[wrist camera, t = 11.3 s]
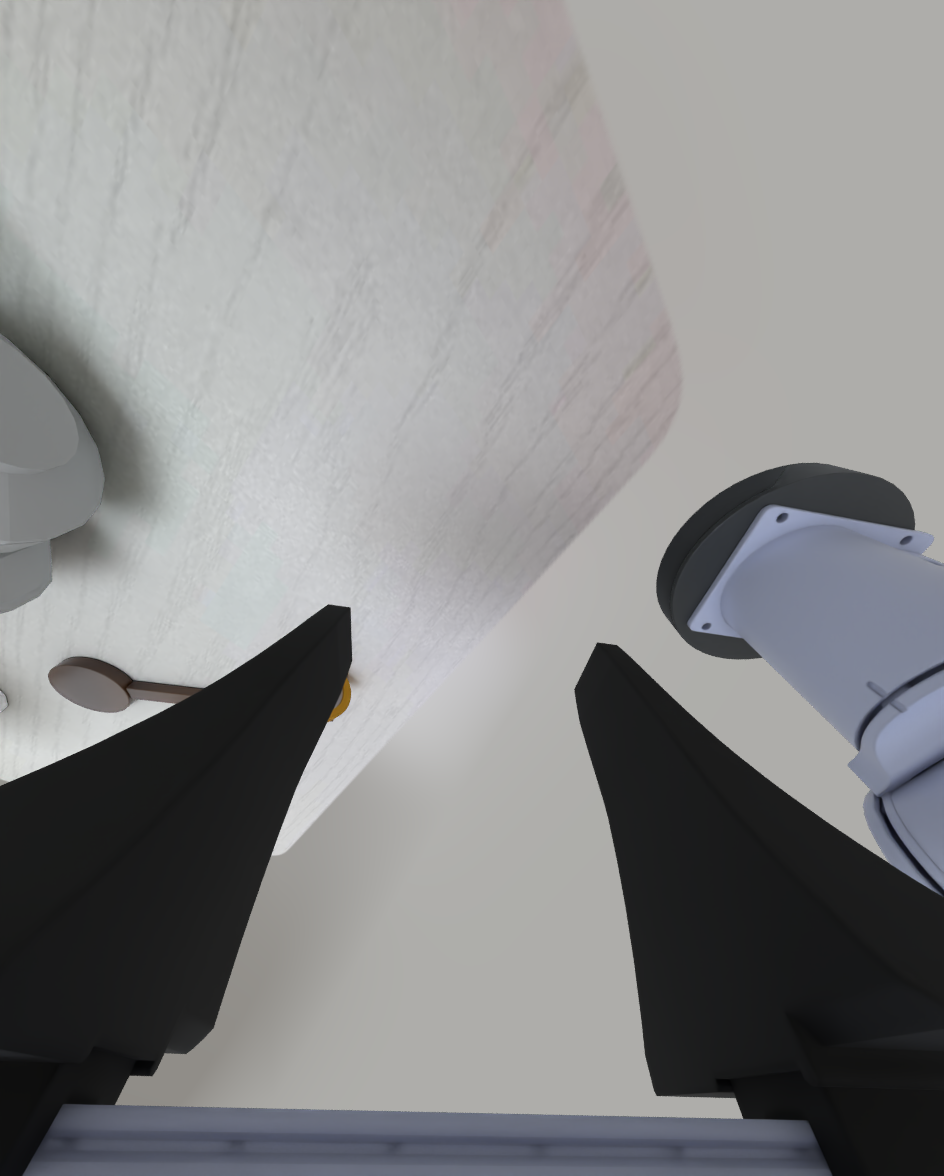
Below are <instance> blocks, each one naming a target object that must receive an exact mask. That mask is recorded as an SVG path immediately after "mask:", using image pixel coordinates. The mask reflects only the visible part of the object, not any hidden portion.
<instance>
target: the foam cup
mask: <svg viewBox="0 0 944 1176" xmlns="http://www.w3.org/2000/svg"><path fill="white" fill-rule="evenodd" d="M7 706H8V704H7V700H6V696H5V695H4V694H3V693H2V692H1V691H0V712H1V711H3V710H4V709H5V708H6V707H7Z"/></svg>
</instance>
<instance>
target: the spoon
mask: <svg viewBox="0 0 944 1176" xmlns="http://www.w3.org/2000/svg"><path fill="white" fill-rule="evenodd" d="M48 678H49V681H50V683H51V685H52V686H53V688H54V689H55V690H56V691H57V692H58V693H59V694H61V695H62V696H63V697H65V698H66V699H68V700H70V701H71V702H73V703H75V704H77V705H79V706H82V707H84V708H87V709H91V710H94V711H99V712H107V713H114V712H120V711H123V710H125V709H126V708H127V707H128V706H129V705H130V704H131V703H133V702H134V701H135V700H136V699H140V700H148V701H157V702H166V703H175V704H177V703H179V702H181V701H182V700H184V699H186V698H188V697H190V696H192V695H193V694H195V693H197V692H199V691H201V690H202V689H198V688H189V687H181V686H173V685H164V684H156V683H147V682H139V681H132V680H131V679H130V678H129V677H128V676H127V675H126V674H124V673H123V672H122V671H120V670H118V669H117V668H115V667H113V666H111V665H109V664H107V663H104V662H102V661H99V660H95V659H91V658H85V657H73V658H68V659H66V660H64V661H62V662H61V663H59V664H58V665H56V666H55V667H54V668H52V669H51V670H50V671H49V674H48ZM333 720H334V719H333ZM333 720H331V721H333Z"/></svg>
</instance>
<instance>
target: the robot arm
mask: <svg viewBox="0 0 944 1176" xmlns="http://www.w3.org/2000/svg"><path fill="white" fill-rule="evenodd" d="M780 514H782V515H781V517H780V518H779V519H777V517H778V516H779V515H780ZM776 519H777V520H776ZM933 541H934V537H933V535H931V534H928V533H925V532H921V531H916V530H910V529H905V528H899V527H894V526H889V525H883V524H878V523H872V522H867V521H862V520H856V519H851V518H845V517H840V516H834V515H829V514H824V513H818V512H813V511H807V510H802V509H796V508H791V507H786V506H780V505H775V504H771V505H768V506H765V507H764V508H762V509H761V510H760V512H759V513H758V514H757V516H756V518H755V519H754V521H753V522H752V524H751V525H750V527H749V528H748V530H747V531H746V533H745V534H744V536H743V537H742V539H741V540H740V542H739V544H738V545H737V547H736V548H735V550H734V551H733V553H732V554H731V556H730V557H729V559H728V560H727V562H726V563H725V565H724V567H723V568H722V570H721V571H720V573H719V574H718V576H717V577H716V579H715V580H714V582H713V583H712V585H711V586H710V588H709V589H708V591H707V593H706V594H705V596H704V597H703V599H702V600H701V602H700V603H699V605H698V606H697V608H696V609H695V611H694V612H693V614H692V616H691V617H690V619H689V620H688V622H687V625H688V627H689V628H690V629H691V630H692V631H697V632H704V633H710V634H717V635H724V636H731V637H737V638H743V639H744V640H745V641H746V642H747V643H748V644H749V645H750V646H751V647H752V648H753V649H754V650H755V651H756V652H757V653H759V654H760V655H761V656H762V657H763V658H764V659H765V660H766V661H767V662H768V663H769V664H770V665H771V666H772V667H773V668H774V669H775V670H776V671H777V672H778V673H779V674H780V675H781V676H782V677H783V678H784V679H785V680H786V681H787V682H788V683H789V684H790V685H791V686H792V687H793V688H794V689H795V690H796V691H798V693H800V694H801V696H802V697H804V698H805V699H806V700H807V701H808V702H809V703H810V704H811V705H812V706H813V707H814V708H815V709H816V710H817V711H818V712H819V713H820V714H821V715H822V716H823V717H824V718H825V719H826V720H827V721H828V722H829V723H830V724H831V725H832V726H833V727H834V728H835V729H836V730H837V731H838V732H839V733H840V734H841V735H842V736H843V737H844V738H845V739H847V740H848V741H849V742H850V743H851V744H852V745H853V746H854V747H855V748H856V749H857V750H858V751H859V753H858V754H857V756H856V757H855V758H854V759H853V760H852V761H850V762H849V763H848V767H849V768H850V769H851V770H852V771H853V772H854V773H855V774H856V775H857V776H858V777H859V778H860V779H861V780H862V781H863V782H864V783H865V784H866V785H867V787H868V788H870V791H869V793H868V794H867V795H866V796H865V799H864V803H863V808H864V815H865V818H866V821H867V824H868V826H869V829H870V831H871V833H872V835H873V837H874V839H875V840H876V842H877V844H878V846H879V847H880V849H881V851H882V853H883V854H884V856H885V858H886V859H887V861H888V862H889V863H888V862H886V861H885V860H883V859H882V858H880V857H879V856H877V855H876V854H874V853H873V852H871V851H869V850H868V849H866V848H865V847H863V846H862V845H860V844H858V843H857V842H856V841H854V840H852V839H851V838H850V837H848V836H847V835H845V834H844V833H842V832H841V831H839V830H838V829H836V828H835V827H833V826H832V825H830V824H829V823H828V822H826V821H825V820H823V819H822V818H820V817H819V816H818V815H816V814H815V813H814V812H812V811H811V810H809V809H808V808H806V807H805V806H804V805H802V804H801V803H799V802H798V801H797V800H795V799H794V798H792V797H791V796H790V795H788V794H787V793H786V792H784V791H783V790H782V789H780V788H779V787H778V786H776V785H775V784H773V783H772V782H771V781H770V780H768V779H767V778H765V777H764V776H763V775H762V774H761V773H759V772H758V771H757V770H755V769H754V768H753V767H752V766H750V765H749V764H748V763H747V762H745V761H744V760H743V759H742V758H740V757H739V756H738V755H737V754H735V753H734V752H733V751H732V750H730V749H729V748H728V747H727V746H726V745H725V744H723V743H722V742H721V741H720V740H719V739H717V738H716V737H715V736H714V735H713V734H712V733H711V732H709V731H708V730H707V729H706V728H705V727H704V726H703V725H702V724H700V723H699V722H698V721H697V720H696V719H695V718H694V717H693V716H692V715H690V714H689V713H688V712H687V711H686V710H685V709H684V708H683V707H682V706H681V705H679V703H678V702H676V701H675V700H674V699H673V698H672V697H671V696H670V695H669V694H668V693H667V692H666V691H665V690H664V689H663V688H662V687H661V686H660V685H659V684H658V683H656V681H654V679H652V678H651V677H650V676H649V675H648V674H647V673H646V672H645V671H644V670H643V669H642V668H641V667H640V666H639V665H638V664H637V663H636V662H635V661H634V660H633V659H632V658H631V657H630V656H629V655H628V654H626V653H625V652H624V651H623V650H622V649H621V648H620V647H618V646H617V645H611V644H605V643H597V644H596V646H595V649H594V650H593V652H592V654H591V656H590V658H589V661H588V663H587V665H586V667H585V669H584V671H583V673H582V675H581V677H580V679H579V681H578V684H577V685H576V687H575V689H574V690H575V697H576V703H577V709H578V715H579V720H580V724H581V728H582V731H583V734H584V738H585V741H586V745H587V748H588V752H589V755H590V758H591V761H592V765H593V768H594V771H595V774H596V777H597V781H598V784H599V787H600V791H601V794H602V797H603V800H604V804H605V808H606V812H607V816H608V819H609V824H610V829H611V833H612V838H613V843H614V847H615V852H616V858H617V863H618V868H619V874H620V879H621V884H622V890H623V895H624V901H625V906H626V912H627V919H628V925H629V932H630V939H631V945H632V951H633V958H634V965H635V973H636V981H637V988H638V995H639V996H638V997H639V1004H640V1012H641V1020H642V1029H643V1039H644V1048H645V1056H646V1060H647V1064H648V1068H649V1072H650V1076H651V1080H652V1084H653V1088H654V1091H655V1093H656V1095H657V1096H680V1097H715V1098H736V1100H737V1102H738V1105H739V1108H740V1111H741V1113H742V1116H743V1119H720V1118H718V1119H717V1118H675V1117H629V1116H628V1117H627V1116H583V1115H580V1116H579V1115H538V1114H537V1115H536V1114H492V1113H446V1112H401V1111H356V1110H355V1111H352V1110H310V1109H263V1108H219V1107H216V1108H215V1107H172V1106H126V1105H115V1103H116V1101H117V1099H118V1097H119V1095H120V1093H121V1091H122V1089H123V1087H124V1085H125V1083H126V1081H127V1079H128V1077H129V1075H130V1076H153V1074H154V1073H155V1071H156V1070H157V1068H158V1066H159V1064H160V1062H161V1059H162V1057H163V1055H164V1053H174V1054H187V1053H188V1052H189V1051H191V1050H192V1049H193V1048H194V1047H195V1046H196V1045H197V1044H198V1043H199V1042H200V1041H202V1040H203V1039H204V1038H205V1037H206V1036H207V1034H208V1033H209V1032H210V1031H211V1030H212V1029H213V1028H214V1025H215V1022H216V1019H217V1015H218V1012H219V1009H220V1006H221V1003H222V999H223V996H224V993H225V990H226V987H227V984H228V981H229V978H230V975H231V972H232V969H233V966H234V962H235V959H236V956H237V953H238V950H239V947H240V944H241V940H242V938H243V935H244V932H245V929H246V926H247V923H248V920H249V917H250V914H251V911H252V908H253V906H254V902H255V900H256V897H257V894H258V891H259V888H260V885H261V882H262V879H263V877H264V874H265V871H266V868H267V865H268V863H269V860H270V857H271V854H272V852H273V849H274V846H275V843H276V841H277V838H278V835H279V832H280V830H281V827H282V824H283V822H284V819H285V816H286V814H287V811H288V808H289V806H290V803H291V800H292V798H293V795H294V792H295V790H296V787H297V785H298V783H299V781H300V778H301V776H302V774H303V771H304V769H305V767H306V765H307V763H308V761H309V759H310V757H311V755H312V753H313V751H314V749H315V746H316V744H317V742H318V740H319V738H320V736H321V734H322V732H323V730H324V728H325V726H326V724H327V722H328V720H329V718H330V715H331V713H332V711H333V709H334V707H335V705H336V703H337V701H338V699H339V696H340V694H341V692H342V689H343V686H344V683H345V680H346V678H347V675H348V671H349V668H350V665H351V662H352V641H351V608H350V607H343V606H336V605H329V604H328V605H327V606H325V607H324V608H323V609H321V610H320V611H318V612H317V613H316V614H314V615H313V616H311V617H310V618H309V619H307V620H306V621H305V622H303V623H302V624H301V625H299V626H298V627H297V628H295V629H294V630H292V631H291V632H290V633H288V634H287V635H286V636H284V637H283V638H281V639H280V640H278V641H277V642H276V643H274V644H273V645H271V646H270V647H269V648H267V649H266V650H264V651H263V652H261V653H260V654H258V655H257V656H255V657H254V658H252V659H251V660H249V661H248V662H246V663H245V664H243V665H241V666H240V667H238V668H237V669H235V670H234V671H232V672H231V673H229V674H227V675H226V676H224V677H223V678H221V679H219V680H218V681H216V682H214V683H213V684H211V685H209V686H208V687H206V688H204V689H202V690H201V691H199V692H197V693H195V694H193V695H192V696H190V697H188V698H186V699H184V700H182V701H181V702H179V703H177V704H175V705H173V706H172V707H170V708H168V709H166V710H164V711H162V712H160V713H158V714H156V715H154V716H152V717H150V718H148V719H146V720H144V721H142V722H140V723H138V724H136V725H134V726H132V727H130V728H128V729H126V730H124V731H122V732H119V733H117V734H115V735H113V736H111V737H109V738H107V739H105V740H103V741H101V742H99V743H97V744H95V745H93V746H91V747H88V748H86V749H84V750H82V751H80V752H77V753H75V754H73V755H71V756H68V757H66V758H64V759H62V760H59V761H57V762H55V763H53V764H51V765H48V766H46V767H44V768H41V769H39V770H37V771H34V772H32V773H30V774H27V775H25V776H23V777H20V778H18V779H16V780H13V781H11V782H8V783H6V784H4V785H1V786H0V1176H944V563H941V562H939V561H936V560H934V559H931V558H929V557H926V556H924V555H921V554H922V553H923V552H924V551H925V550H926V549H927V548H928V547H929V546H930V545H931V544H932V543H933ZM704 624H705V625H704Z"/></svg>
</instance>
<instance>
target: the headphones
mask: <svg viewBox="0 0 944 1176" xmlns="http://www.w3.org/2000/svg"><path fill="white" fill-rule="evenodd" d="M104 481H105V477H104V472H103V468H102V464H101V459H100V455H99V451H98V448H97V446H96V444H95V442H94V440H93V438H92V436H91V435H90V433H89V431H88V429H87V427H86V425H85V423H84V422H83V420H82V418H81V416H80V414H79V413H78V412H77V411H76V409H75V408H74V407H73V406H72V404H71V403H70V402H69V401H68V399H67V398H66V397H65V396H64V395H63V393H62V392H61V391H60V390H59V388H58V387H57V386H56V385H55V383H54V382H53V381H52V380H51V378H50V377H49V376H47V375H46V374H45V373H44V372H43V371H42V370H41V369H40V368H39V367H38V366H37V365H36V364H34V363H33V362H32V361H31V360H30V359H29V358H28V357H27V356H26V355H25V354H24V353H23V352H21V351H20V350H19V349H18V348H17V347H16V346H15V345H14V344H13V343H12V342H11V341H10V340H8V339H7V338H6V337H4V336H3V335H2V334H0V614H1V613H4V612H8V611H12V610H14V609H16V608H18V607H20V606H22V605H24V604H26V603H27V602H29V601H31V600H33V599H35V598H37V597H39V596H40V595H41V594H42V593H43V591H44V590H45V589H46V588H47V587H48V585H49V584H50V583H51V582H52V556H51V546H50V539H53V538H56V537H58V536H60V535H62V534H65V533H67V532H69V531H71V530H74V529H76V528H78V527H80V526H83V525H84V524H85V523H86V522H87V521H88V519H89V518H90V517H91V516H92V514H93V513H94V512H95V511H96V509H97V508H98V507H99V506H100V505H101V499H102V493H103V487H104Z"/></svg>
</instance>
